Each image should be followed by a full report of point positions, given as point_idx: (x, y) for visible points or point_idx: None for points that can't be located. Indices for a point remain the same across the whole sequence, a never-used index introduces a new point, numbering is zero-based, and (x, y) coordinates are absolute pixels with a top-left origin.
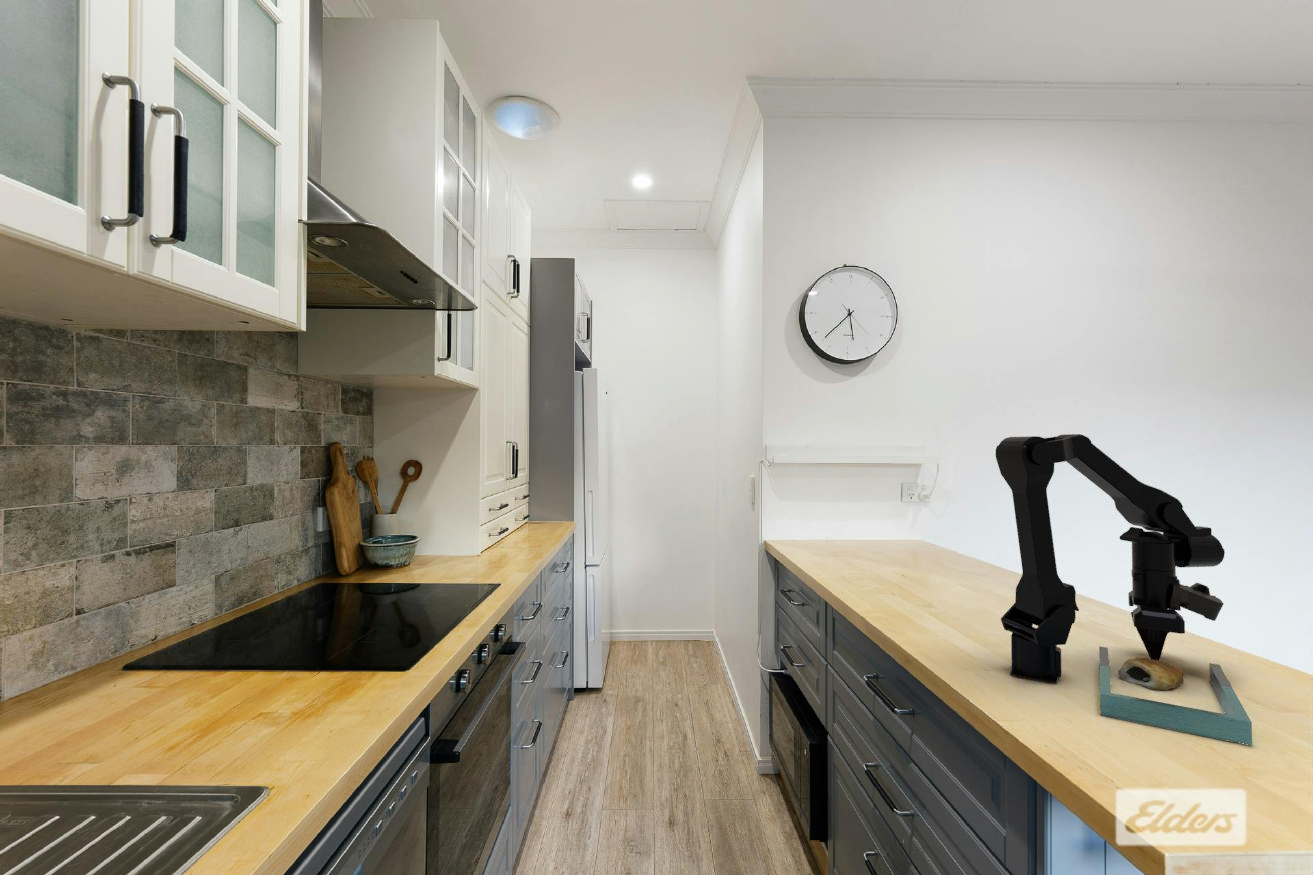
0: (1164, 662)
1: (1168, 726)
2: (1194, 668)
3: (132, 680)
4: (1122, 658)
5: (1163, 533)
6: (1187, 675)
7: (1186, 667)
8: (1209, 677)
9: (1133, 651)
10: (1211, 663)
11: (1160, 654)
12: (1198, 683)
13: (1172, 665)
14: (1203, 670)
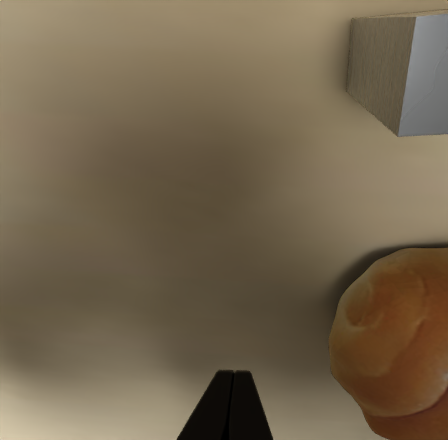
0: (432, 400)
1: None
2: (57, 164)
3: None
4: (164, 418)
5: None
6: (263, 210)
7: (76, 204)
8: (355, 98)
9: (3, 381)
10: (398, 111)
11: (262, 414)
12: (426, 162)
13: (414, 349)
14: (55, 114)
